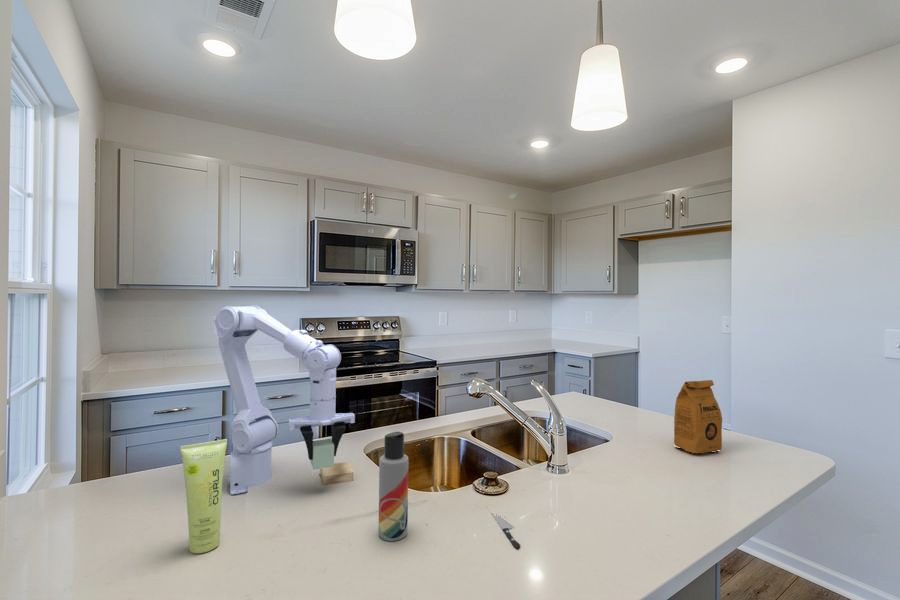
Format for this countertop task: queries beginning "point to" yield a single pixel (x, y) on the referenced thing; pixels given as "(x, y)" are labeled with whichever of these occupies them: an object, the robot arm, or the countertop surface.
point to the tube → (204, 492)
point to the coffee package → (697, 418)
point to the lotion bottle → (393, 489)
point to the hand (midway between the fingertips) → (322, 456)
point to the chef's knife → (506, 530)
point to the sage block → (323, 454)
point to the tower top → (337, 473)
